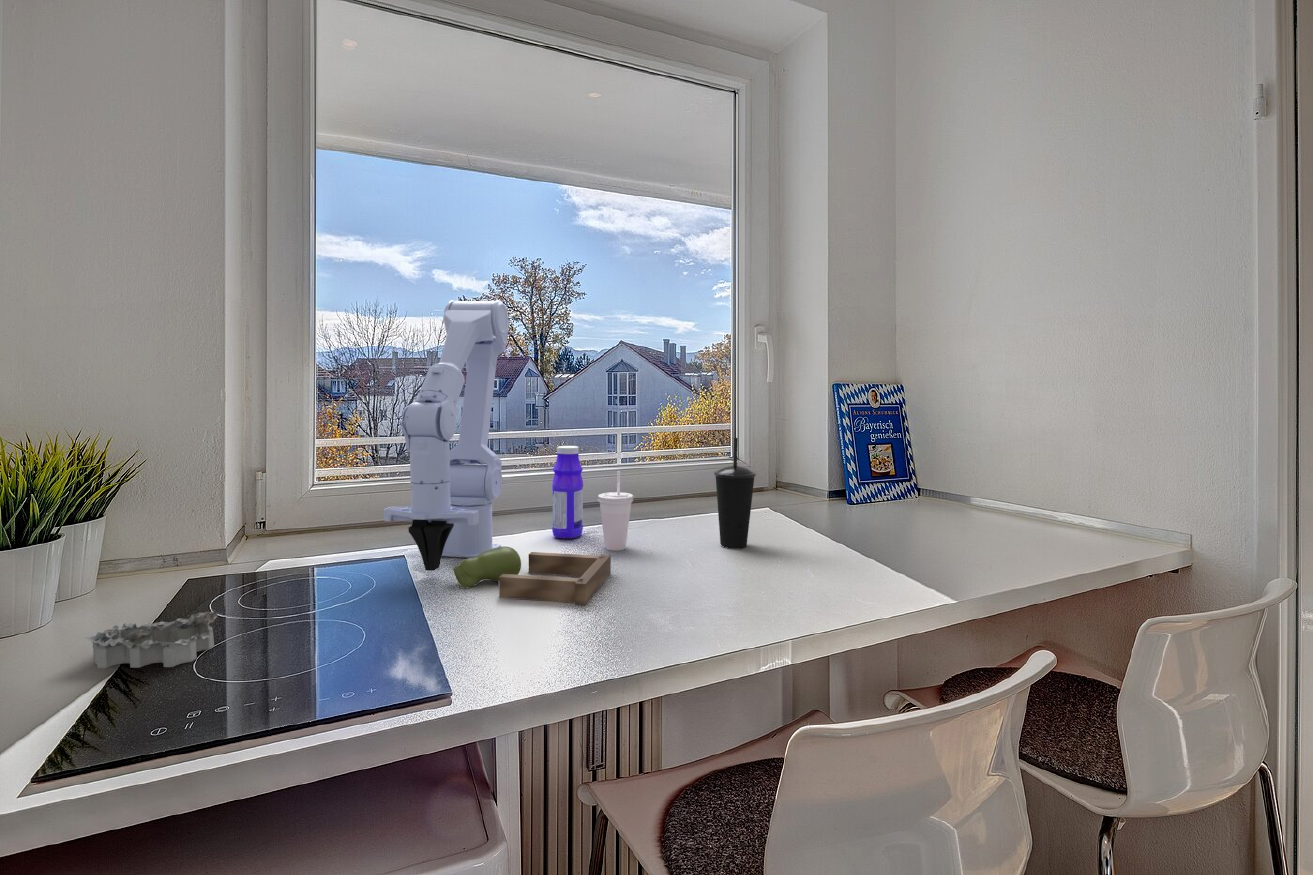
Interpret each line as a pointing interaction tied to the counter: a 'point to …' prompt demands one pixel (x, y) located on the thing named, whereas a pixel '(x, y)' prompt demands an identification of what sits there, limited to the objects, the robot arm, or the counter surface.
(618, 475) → the smoothie
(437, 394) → the robot arm
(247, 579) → the counter surface
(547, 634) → the counter surface
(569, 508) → the bottle
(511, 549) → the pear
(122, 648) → the egg carton
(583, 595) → the walnut frame
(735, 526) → the drinking cup
